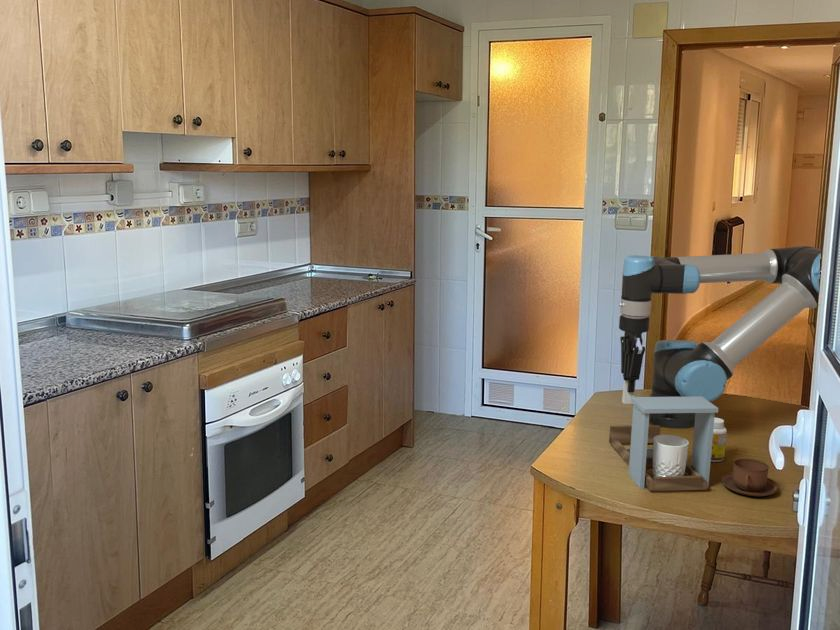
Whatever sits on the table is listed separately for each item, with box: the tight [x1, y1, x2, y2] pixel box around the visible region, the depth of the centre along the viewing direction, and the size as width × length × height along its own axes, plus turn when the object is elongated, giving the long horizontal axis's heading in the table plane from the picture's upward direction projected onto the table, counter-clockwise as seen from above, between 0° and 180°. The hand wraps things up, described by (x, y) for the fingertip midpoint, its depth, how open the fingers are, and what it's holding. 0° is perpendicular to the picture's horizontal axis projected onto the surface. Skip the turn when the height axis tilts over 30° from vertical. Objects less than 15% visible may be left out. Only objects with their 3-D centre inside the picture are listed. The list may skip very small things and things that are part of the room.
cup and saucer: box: [720, 458, 779, 497], centre depth 190 cm, size 12×12×6 cm
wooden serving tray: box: [608, 424, 708, 491], centre depth 202 cm, size 31×13×4 cm, turn 4°
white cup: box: [652, 434, 690, 481], centre depth 193 cm, size 8×8×10 cm
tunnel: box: [628, 396, 719, 490], centre depth 192 cm, size 9×17×19 cm, turn 94°
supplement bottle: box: [711, 417, 728, 463], centre depth 208 cm, size 6×6×10 cm
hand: (627, 402), depth 222 cm, fingers closed
